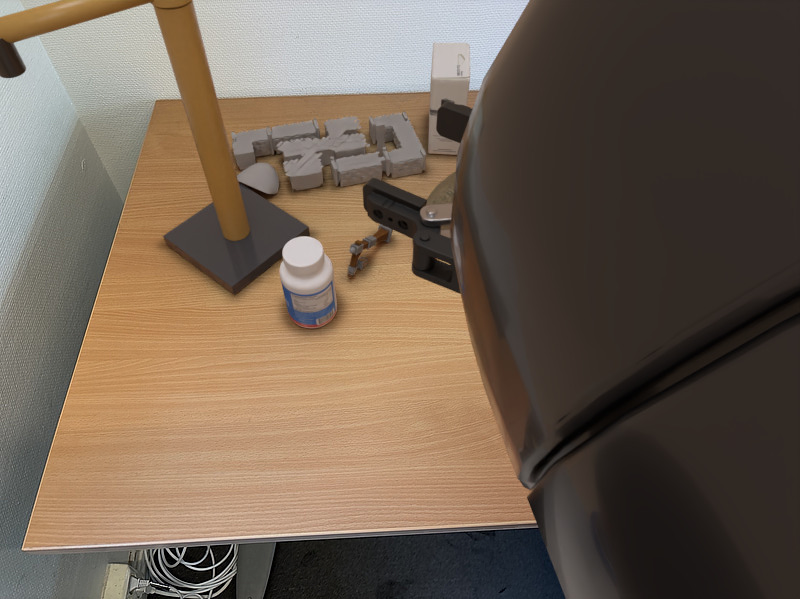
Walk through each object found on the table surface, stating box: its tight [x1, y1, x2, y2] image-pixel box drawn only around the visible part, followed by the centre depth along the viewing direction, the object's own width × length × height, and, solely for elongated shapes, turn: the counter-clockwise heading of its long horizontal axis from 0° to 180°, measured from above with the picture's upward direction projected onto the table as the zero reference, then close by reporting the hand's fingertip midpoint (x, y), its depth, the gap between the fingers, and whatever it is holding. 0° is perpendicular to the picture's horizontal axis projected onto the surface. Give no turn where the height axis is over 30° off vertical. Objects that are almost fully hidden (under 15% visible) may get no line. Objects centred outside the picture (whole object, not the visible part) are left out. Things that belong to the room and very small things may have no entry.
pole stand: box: [162, 182, 311, 296], centre depth 73 cm, size 12×12×2 cm
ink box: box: [427, 42, 471, 156], centre depth 82 cm, size 8×5×12 cm, turn 177°
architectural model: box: [230, 111, 427, 195], centre depth 80 cm, size 12×25×5 cm, turn 106°
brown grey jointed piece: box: [346, 224, 394, 279], centre depth 71 cm, size 2×8×4 cm, turn 150°
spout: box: [0, 0, 191, 79], centre depth 48 cm, size 16×4×4 cm, turn 127°
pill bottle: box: [278, 236, 338, 329], centre depth 63 cm, size 6×5×10 cm
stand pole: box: [152, 0, 250, 241], centre depth 62 cm, size 3×3×27 cm
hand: (404, 153), depth 37 cm, fingers open, 8 cm apart
